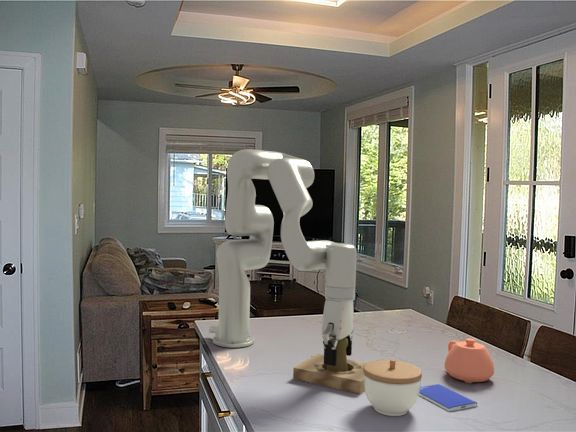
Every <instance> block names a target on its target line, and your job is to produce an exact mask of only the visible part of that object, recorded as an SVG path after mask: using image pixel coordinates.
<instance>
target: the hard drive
mask: <svg viewBox="0 0 576 432" xmlns="http://www.w3.org/2000/svg"><path fill="white" fill-rule="evenodd" d="M419 396H420V397H421V398H423V399H426V400H427V401H429V402H431V403H433V404H435V405H437V406H439V407H440V408H442V409H444V410H446V411H447V412H453V411H454V412H455V411H459V410H460V411H461V410H465V409H469V408H475V407H478V402H477V401H475V400H472V399H471V398H469V397H466V396H465V395H463V394H461V393H459V392H457V391H454V390H452V389H450V388H449V387H446V386H444V385H442V384H440V383H437V384H429V385H426V386H425V385H424V386H421V387H420V393H419Z"/></svg>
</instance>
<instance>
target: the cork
mask: <svg viewBox="0 0 576 432" xmlns="http://www.w3.org/2000/svg"><path fill="white" fill-rule="evenodd" d="M332 337H335V336H332ZM331 342H332V344H333V342H334V341H332V340H331ZM347 345H348V339H347V337H345V338H343V339H341V340H339V341H338V342H337V345H336V348H335V349H337V361H336V365H335V366H332V365H327V367H326V370H329V371H334V372H346V371H348V368H347V359H348V358H347V355H346V347H347Z"/></svg>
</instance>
